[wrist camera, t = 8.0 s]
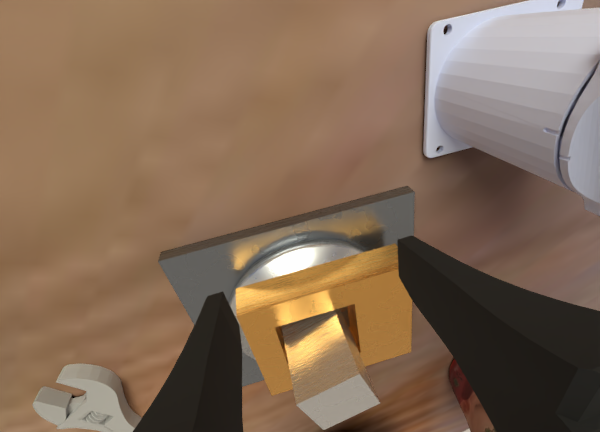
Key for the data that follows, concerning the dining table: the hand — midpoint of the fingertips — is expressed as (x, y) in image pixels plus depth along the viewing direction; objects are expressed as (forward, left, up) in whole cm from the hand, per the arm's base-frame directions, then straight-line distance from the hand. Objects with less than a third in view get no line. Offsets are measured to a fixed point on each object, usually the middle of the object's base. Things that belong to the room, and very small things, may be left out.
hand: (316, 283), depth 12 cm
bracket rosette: (0, +11, -9) cm, 14 cm away
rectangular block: (0, +10, -7) cm, 13 cm away
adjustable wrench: (+20, +23, -10) cm, 32 cm away
